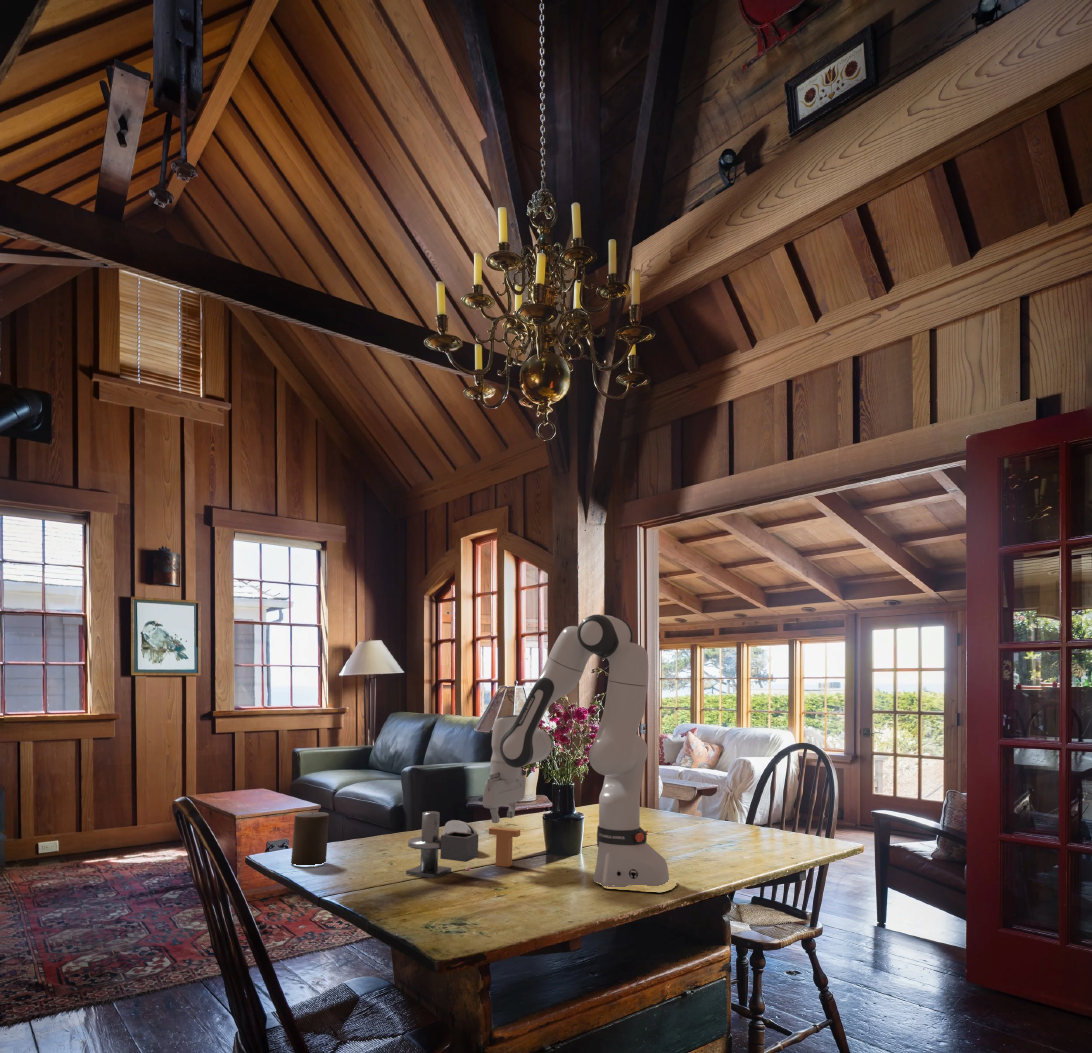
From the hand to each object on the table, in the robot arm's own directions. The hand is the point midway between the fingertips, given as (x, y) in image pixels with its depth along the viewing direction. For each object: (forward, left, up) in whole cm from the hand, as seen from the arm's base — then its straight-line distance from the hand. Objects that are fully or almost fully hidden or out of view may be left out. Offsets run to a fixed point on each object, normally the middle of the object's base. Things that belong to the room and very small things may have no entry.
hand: (503, 820), depth 244 cm
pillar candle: (+49, +25, -13) cm, 57 cm away
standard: (+10, +18, -12) cm, 24 cm away
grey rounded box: (+21, -10, -13) cm, 27 cm away
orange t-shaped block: (-1, 0, -13) cm, 12 cm away
